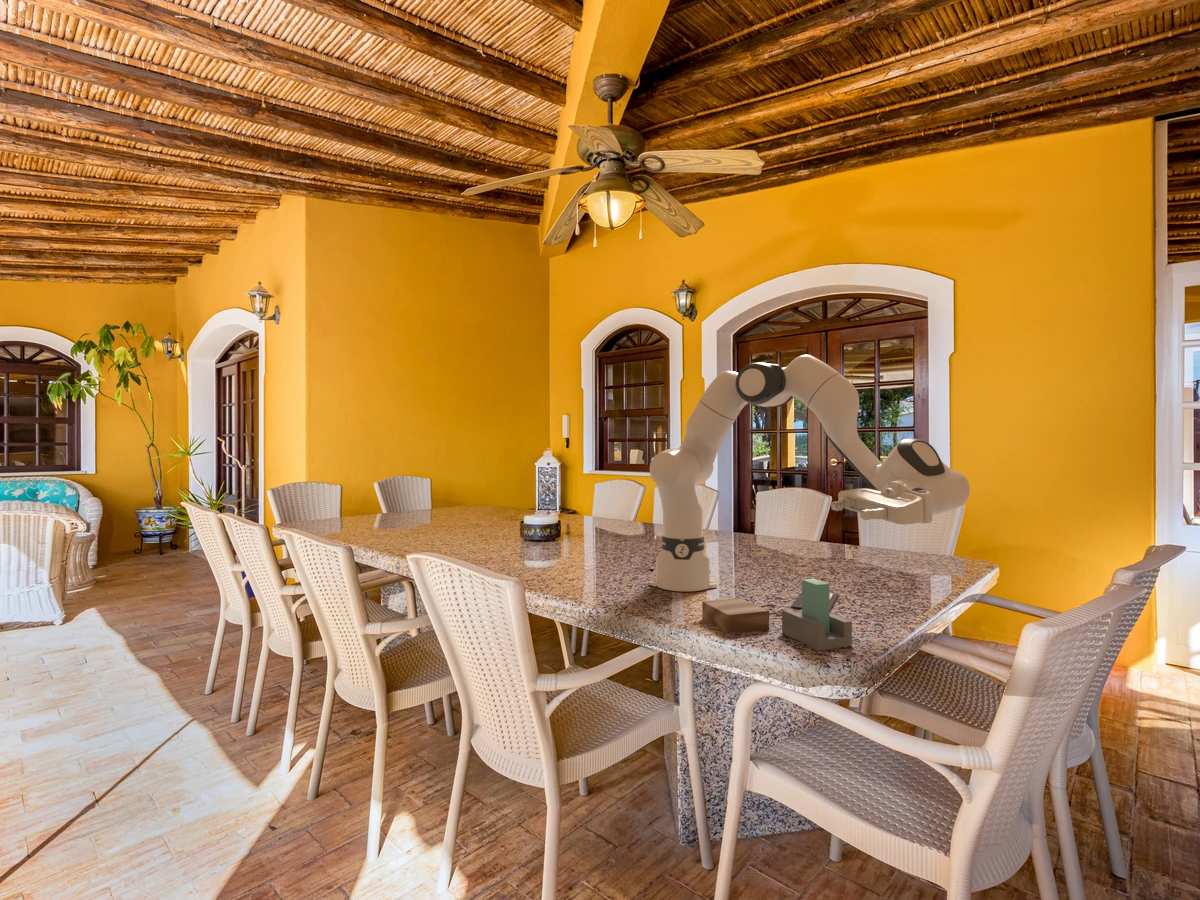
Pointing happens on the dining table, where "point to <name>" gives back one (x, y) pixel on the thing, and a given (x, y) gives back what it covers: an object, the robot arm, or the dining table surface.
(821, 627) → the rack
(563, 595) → the dining table surface
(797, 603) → the chocolate bar
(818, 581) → the sage green upright block
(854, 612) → the dining table surface
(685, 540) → the robot arm
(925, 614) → the dining table surface
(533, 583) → the dining table surface
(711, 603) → the brown block
